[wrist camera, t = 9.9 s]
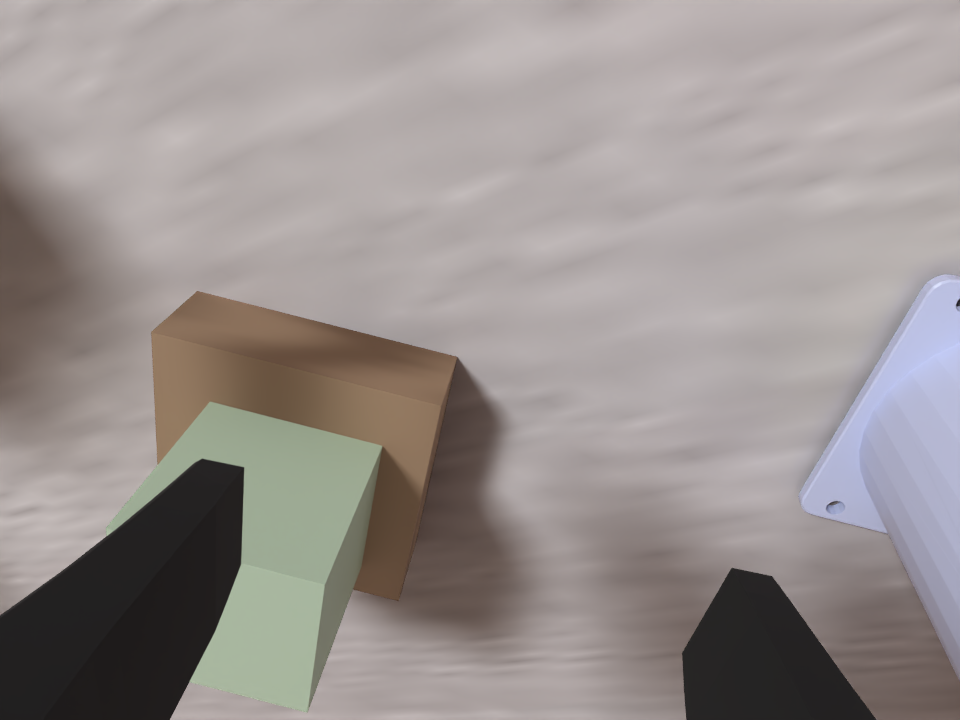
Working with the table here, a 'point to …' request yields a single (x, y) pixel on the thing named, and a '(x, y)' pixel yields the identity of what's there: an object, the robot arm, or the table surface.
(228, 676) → the sage cube
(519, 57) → the table surface
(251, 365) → the walnut block
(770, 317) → the table surface
